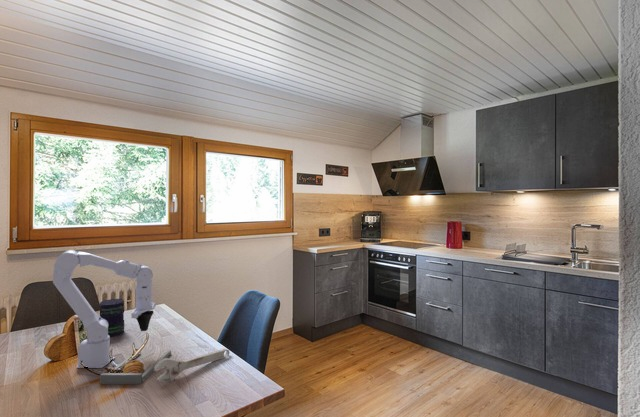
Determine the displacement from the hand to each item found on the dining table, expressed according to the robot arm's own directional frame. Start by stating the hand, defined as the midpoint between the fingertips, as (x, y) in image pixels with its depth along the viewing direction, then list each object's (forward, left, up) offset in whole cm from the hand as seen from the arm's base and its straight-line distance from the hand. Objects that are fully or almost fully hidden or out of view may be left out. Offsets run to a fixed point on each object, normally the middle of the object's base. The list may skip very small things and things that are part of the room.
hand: (144, 330), depth 133 cm
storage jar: (-26, +21, -10) cm, 35 cm away
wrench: (+25, -13, -10) cm, 30 cm away
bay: (+4, -12, -9) cm, 16 cm away
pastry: (+5, -16, -10) cm, 19 cm away
